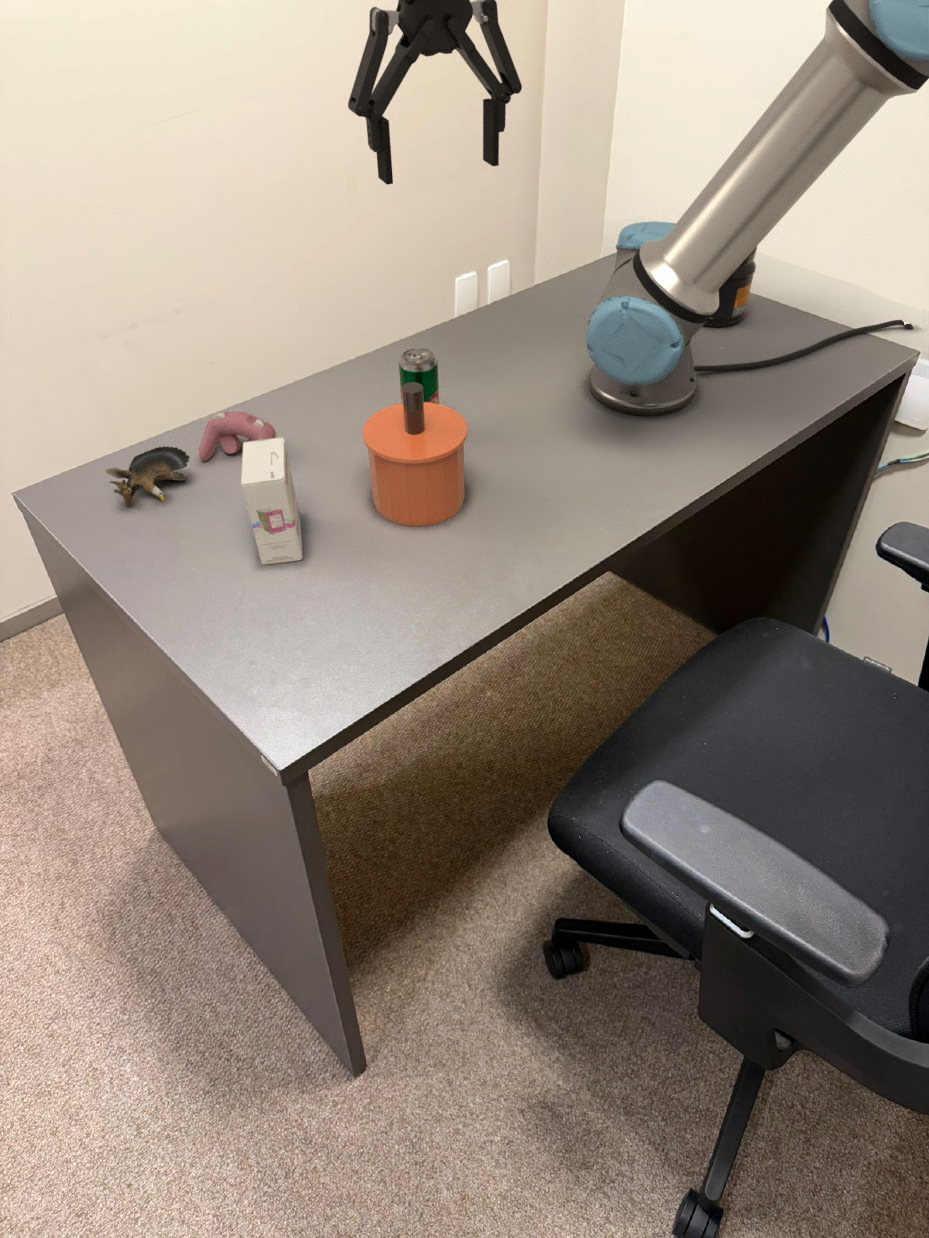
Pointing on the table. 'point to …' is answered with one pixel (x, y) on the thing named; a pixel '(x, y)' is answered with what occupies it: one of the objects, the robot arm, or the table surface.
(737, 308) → the supplement container
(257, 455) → the ink box
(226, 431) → the video game controller
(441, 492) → the pot
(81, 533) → the table surface
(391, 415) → the pot lid
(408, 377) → the soda can
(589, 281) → the table surface
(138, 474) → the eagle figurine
